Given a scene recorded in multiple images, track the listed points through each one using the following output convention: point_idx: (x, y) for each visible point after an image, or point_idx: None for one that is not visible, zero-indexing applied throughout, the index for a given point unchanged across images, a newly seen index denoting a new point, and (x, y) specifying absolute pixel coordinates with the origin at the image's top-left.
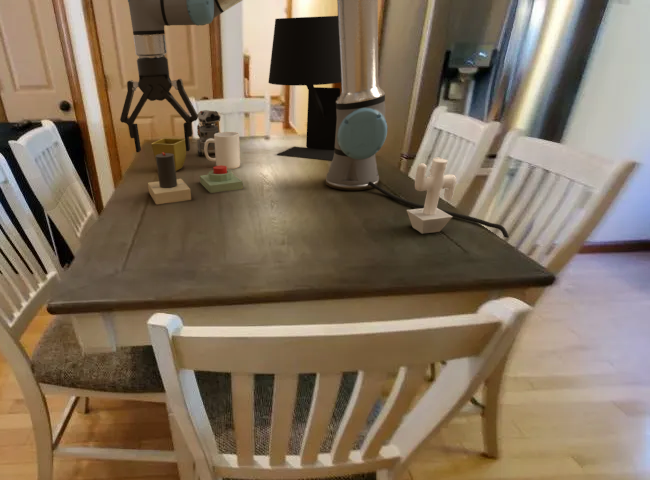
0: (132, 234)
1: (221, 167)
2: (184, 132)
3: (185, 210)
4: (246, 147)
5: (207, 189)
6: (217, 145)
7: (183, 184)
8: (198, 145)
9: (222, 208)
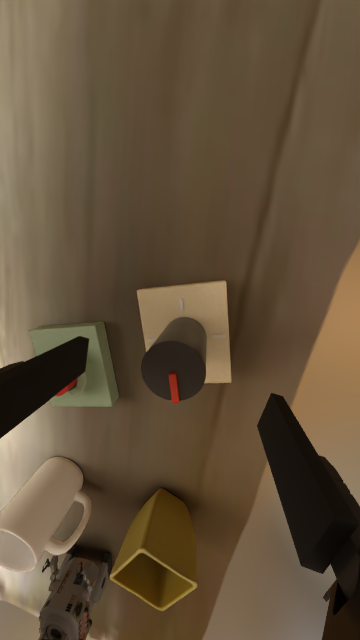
0: (316, 35)
1: None
2: (30, 369)
3: (163, 214)
4: None
5: (107, 343)
6: (47, 518)
7: (149, 334)
8: (101, 582)
9: (85, 204)
